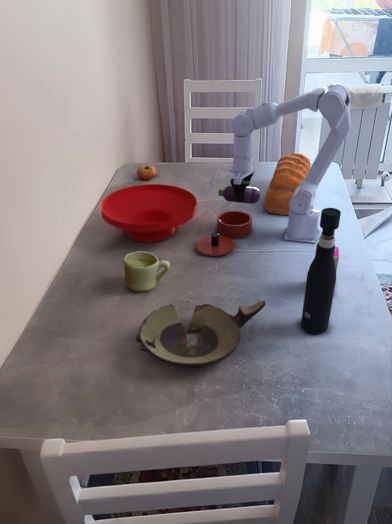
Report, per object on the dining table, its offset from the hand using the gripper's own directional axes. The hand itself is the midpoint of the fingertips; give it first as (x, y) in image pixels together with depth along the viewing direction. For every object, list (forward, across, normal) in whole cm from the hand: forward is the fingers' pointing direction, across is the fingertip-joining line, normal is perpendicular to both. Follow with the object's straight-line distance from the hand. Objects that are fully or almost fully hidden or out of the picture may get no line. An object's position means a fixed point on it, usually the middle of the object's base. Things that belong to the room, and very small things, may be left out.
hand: (241, 197), depth 152 cm
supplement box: (+11, +29, +29) cm, 42 cm away
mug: (+11, +39, -17) cm, 44 cm away
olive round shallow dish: (+11, +60, +4) cm, 61 cm away
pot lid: (+10, +15, -5) cm, 18 cm away
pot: (+10, +2, -2) cm, 11 cm away
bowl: (+11, +9, -28) cm, 31 cm away
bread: (+11, -28, +12) cm, 32 cm away
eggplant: (+1, 0, 0) cm, 1 cm away
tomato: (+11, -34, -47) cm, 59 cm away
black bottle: (+11, +46, +29) cm, 55 cm away
